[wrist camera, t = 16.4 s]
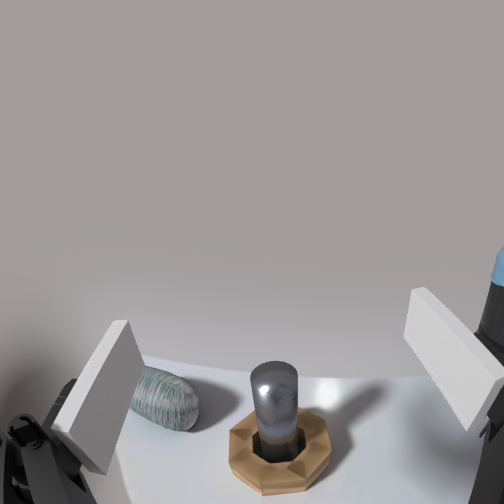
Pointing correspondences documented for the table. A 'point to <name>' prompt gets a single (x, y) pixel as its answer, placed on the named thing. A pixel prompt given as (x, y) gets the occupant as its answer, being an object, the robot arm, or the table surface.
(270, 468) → the brown thick faceted ring
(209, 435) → the table surface
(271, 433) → the rod
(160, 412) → the grey yarn skein
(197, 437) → the table surface
